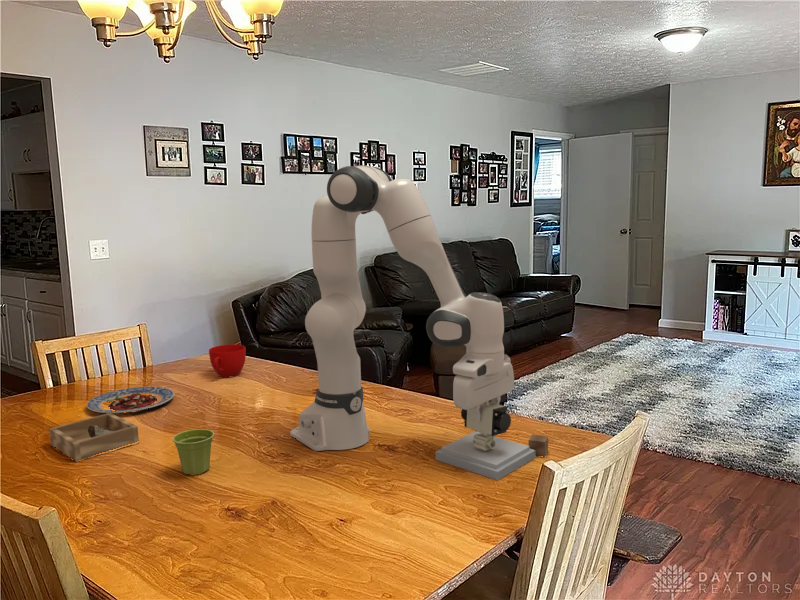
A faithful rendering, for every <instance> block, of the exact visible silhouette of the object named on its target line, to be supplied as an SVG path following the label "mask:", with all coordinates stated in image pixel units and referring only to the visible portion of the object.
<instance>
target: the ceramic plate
mask: <svg viewBox="0 0 800 600" xmlns="http://www.w3.org/2000/svg"><path fill="white" fill-rule="evenodd" d="M141 394H154V395H158V396H160V397H161V398H162V399H161V401H160V402H158V403H156V404H153V405H151V404H152V403H154V402H155V401H157V398H156V397H155V396H152V395H148V396H147V395H141ZM129 395H130V396H129ZM123 396H127V397H123ZM119 397H120V398H119ZM174 397H175V392H174V390H173V389H170V388H167V387H163V386H161V387H160V386H136V387H135V386H134V387H128V388H123V389H122V388H121V389H117V390H113V391H110V392H105V393H102V394H100V395H97V396H95V397H93V398H92V399H90V400H89V401H88V402H87V403H86V408H87V409H88V410H90V411H92V412H96V413H103V414H107V413H111V414H125V413H124V412H132V411H138V412H140V411H139V410H142V411H145V410H144V409H146V410H149V409H152V408H155V407H158V406H161V405H163V404H166V403H167V402H169V401H171V400H172V399H173V398H174ZM111 399H113V400H116V401H113V400H111ZM106 401H107V402H108V401H109V403H110V402H112V401H113V402H112V403H111V404H110V405H109V406H108V407H110V409H113V410H115V411H112V410H103V409H102V408H101V405H102V404H103V403H104V402H106ZM149 405H150V406H149ZM148 408H149V409H148ZM132 413H133V412H132Z"/></svg>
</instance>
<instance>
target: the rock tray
mask: <svg viewBox="0 0 800 600" xmlns="http://www.w3.org/2000/svg"><path fill="white" fill-rule="evenodd" d="M90 425H93V426H94V425H95V426H98V427H99V428H100V429H101V430H110V431H113V432H110V433H106V434H103V435H99V436H96V437H92V438H91V437H90V435H89V433H88V428H89V426H90ZM48 430H49V438H50V440H49V441H50V446H51V445H53V446H54V447H56V448H57V449H59V450H60V451H62V452H63V453H65V454H66V455H68V456H69V457H71V458H72V459H73V460H75V461H79V460H82V459H85V458H88V457H91V456H93V455H96V454H99V453H102V452H106V451H109V450H113V449H116V448H119V447H122V446H125V445H128V444H132V443H135V442H137V441H139V442H140V439H139V426H137V425H136V424H134V423H131V422H129V421H128V420H126V419H123V418H121V417H120V416H118V415H115V414H114V413H103V414H101V415H97V416H91V417H89V418H85V419H81V420H78V421H73V422H69V423H65V424H61V425H58V426H54V427H51V428H49V429H48ZM54 447H53V448H54ZM57 449H56V450H57ZM60 451H59V452H60ZM63 453H62V454H63ZM66 455H65V456H66ZM69 457H68V458H69ZM72 459H71V460H72ZM73 460H72V461H73ZM75 461H74V462H75Z"/></svg>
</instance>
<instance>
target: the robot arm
mask: <svg viewBox="0 0 800 600" xmlns="http://www.w3.org/2000/svg"><path fill="white" fill-rule="evenodd" d="M326 193H327V194H326V195H324V196H322V197H319V198H318V199H317V200H316V201H315V202H314V205H313V209H312V216H311V232H310V233H311V253H312V254H311V255H312V270H313V273H314V275H315V277H316V280H317V282H318V285H319V291H320V295H321V298H320V299H319V300H318V301H316V302H314V303H313V304H312V305H311V307H310V308H309V310H308V311H307V313H306V315H305V318H304V326H305V330H306V332H307V334H308V335H309V336H310V338H311V342H312V345H313V348H314V352H315V357H316V363H317V377H318V379H317V380H318V388H316V389H312V395H315V398H314V401H313V402H312V403H311V404H309V405H308V406H307V407H306V408H305V409H303V410H301V412H300V414H299V417H298V426H296V427H295V428H292V429H291V430H290V433H289V434H290V436H291V437H292V438H293V439H295V438H296V439H295V440H297V441H299V443H302V444H303V445H305V446H306V447H308V448H310V449H312V451H315V452H317V451H318V452H320V451H329V450H331V451H343V450H351V449H354V448H355V449H356V448H359V447H361V446H363V445H365V444H367V443H368V442H369V440H370V435H369V432H370V427H369V426H368V425H367V418H366V417H367V416H366V411H365V404H364V403H363V401H364V388H363V386H362V376H361V375H362V373H361V369H362V368H361V357H360V356H359V354H358V351H357V347H356V343H355V338H354V337H355V335H354V331H355V329H356V328H358V327H360V325H361V324H362V322H363V320H364V318H365V317H366V316H365V315H366V311H367V307H366V302H365V300H364V299H363V293H362V292H363V291H362V289H361V288H362V287H361V283H360V279H359V274H358V273H359V272H358V263H357V262H358V261H357V241H356V240H357V239H356V238H357V237H356V221H357V219H358V217H359V216H360V214H361V215H366V214H369V213H371V212H376V213H378V215H380V217H381V218H382V221H383V223H384V225H385V227H386V228H385V229H386V231H387V234H388V237H389V238H390V241H391V243H392V245H393V248H394V249H395V250H396V252H397V254H398V255H399V256H400V258H402V259H403V260H404V261H407V262H410V263H411V264H414V265H416V266H417V267H419V268H421V269H422V270H423V272H425V273H426V275H427V277H428V278H429V280H430V282H431V285H432V287H433V288H434V291H435V293H436V295H437V297H438V300H439V302H440V307H439V308H437V309H436V310H434V311H433V312H432V313H430V315H429V316H428V318H427V320H426V324H425V329H426V333H427V334H426V335H427V336H428V338H429V340H430V341H431V342H432V344H434V345H435V346H438V347H441V348H453V347H459V346H460V347H461V346H465V347H466V348H465V349H466V350H465V351H466V353H465V354H464V355H463V356H462V357H461V358H460V359H459V360H458V361H457V362H456V363H454V364H453V366H452V372H453V374H454V375H455V376H454V378H453V383H452V390H453V391H452V397H453V398H452V399H453V400H452V401H453V404H454V406H455V407H456V408H457V409H461V410H462V409H464V410H468V409H470V410H471V412H472V414H473V421H475V422H480V421H481V414H480V411H479V408H480V404H482V403H485V402H487V401H488V402H493V403H497V404H499V405H500V402H501V397H502V396H503V395H505V394H508V393H510V392H512V391H513V390H514V388H515V373H514V368H513V364H512V363H511V361H512V360H511V358H510V356H509V355H508V354H505V346H504V343H503V337H504V333H505V318H504V316H505V315H504V308H503V305H502V301H501V299H500V298H499V297H497V296H496V295H494V294H491V293H488V292H487V293H486V292H482V291H481V292H478V291H477V292H471V293H469V294H468V295H466V293H465V292H464V290H463V288H462V286H461V283H460V282H459V279H458V277H457V274H456V272H455V270H454V269H453V266H452V264H451V262H450V260H449V258H448V255H447V254H446V252H445V249H444V246H443V243H442V242H441V239H440V236H439V234H438V231H437V228H436V225H435V222H434V220H433V217H432V214H431V212H430V210H429V208H428V205H427V203H426V201H425V198H424V197H423V195H422V193H421V192H420V190H419V189H418V187H417V186H416V184H415V182H413V181H412V180H411V179H408V178H395V179H392V177H391V175H389V173H387V172H386V171H385V170H383V169H382V168H379V167H375V166H370V165H363V164H362V165H356V166H355V165H353V166H352V165H348V166H343V167H340V168H338V169H336V170H335V171H333V173H332V174H331V175H330V177H329V178H328V181H327V184H326Z"/></svg>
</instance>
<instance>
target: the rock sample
mask: <svg viewBox="0 0 800 600" xmlns="http://www.w3.org/2000/svg"><path fill="white" fill-rule="evenodd" d="M110 432H113V431H110V430H101V429H100V428H99V427H98V426H95V425H94V426H93V425H90V426H89V428H88V433H89V435H90V437H91V438H92V437H96V436H99V435H103V434H106V433H110Z"/></svg>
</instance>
